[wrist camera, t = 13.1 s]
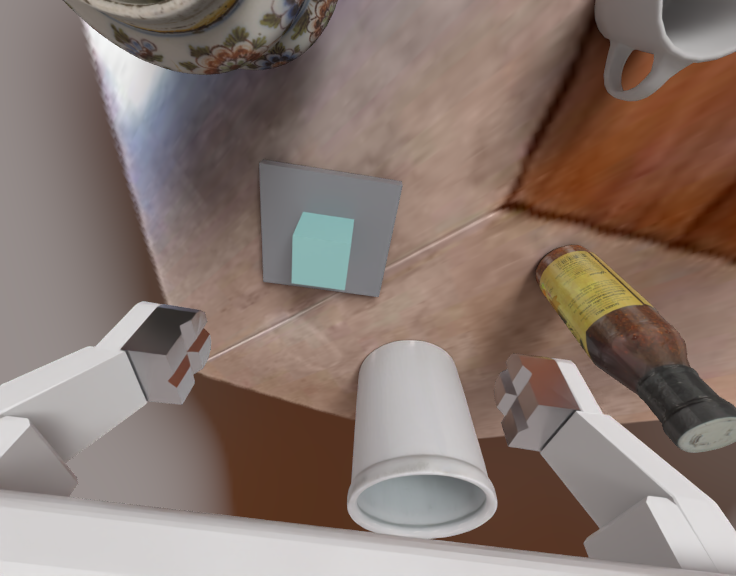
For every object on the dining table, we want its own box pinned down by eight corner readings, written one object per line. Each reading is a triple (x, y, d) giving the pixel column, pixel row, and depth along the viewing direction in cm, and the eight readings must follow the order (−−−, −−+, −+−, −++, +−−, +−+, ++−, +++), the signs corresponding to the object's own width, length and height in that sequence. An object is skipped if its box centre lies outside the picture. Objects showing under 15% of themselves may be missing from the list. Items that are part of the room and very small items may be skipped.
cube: (354, 219, 33) (351, 243, 29) (348, 262, 36) (344, 290, 32) (303, 211, 33) (292, 235, 29) (301, 255, 36) (291, 283, 32)
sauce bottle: (522, 282, 39) (626, 453, 22) (553, 234, 35) (704, 397, 19) (572, 295, 40) (707, 469, 23) (608, 250, 36) (797, 418, 20)
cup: (726, -64, 22) (883, -112, 15) (625, 103, 28) (707, 122, 21) (624, -103, 21) (742, -173, 15) (541, 78, 27) (597, 89, 20)
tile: (401, 181, 32) (402, 185, 31) (378, 290, 40) (378, 296, 39) (262, 159, 31) (259, 163, 30) (266, 275, 39) (263, 281, 38)
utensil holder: (392, 317, 42) (400, 457, 28) (484, 361, 46) (531, 502, 32) (337, 383, 50) (321, 519, 35) (420, 415, 54) (435, 549, 40)
